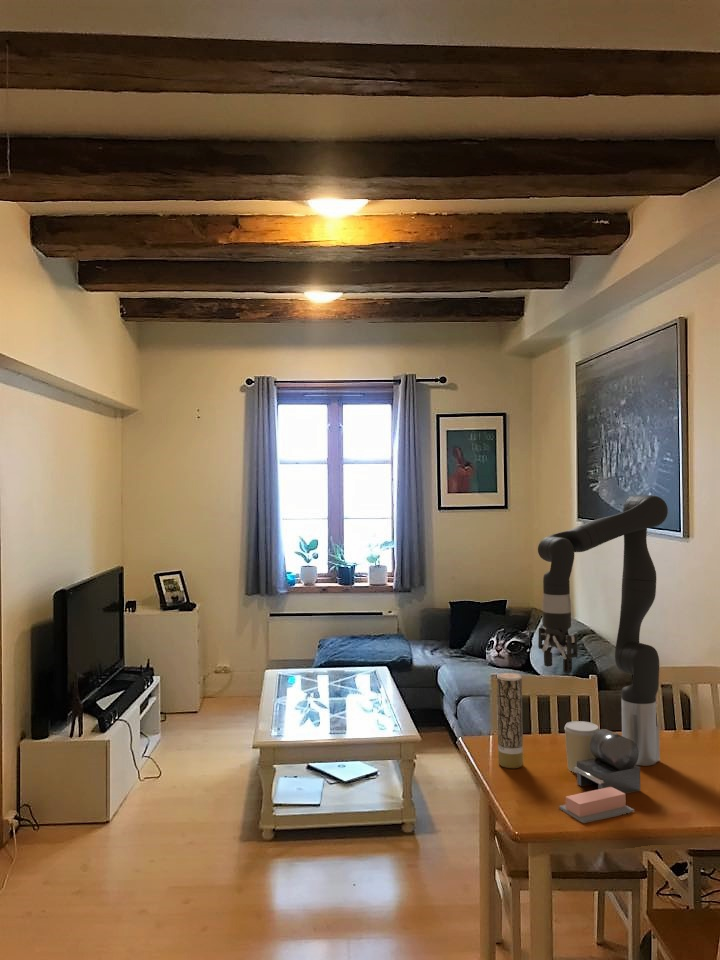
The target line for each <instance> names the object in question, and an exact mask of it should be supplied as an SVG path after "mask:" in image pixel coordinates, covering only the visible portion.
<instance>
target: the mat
mask: <svg viewBox="0 0 720 960" xmlns="http://www.w3.org/2000/svg"><path fill="white" fill-rule="evenodd" d="M558 809H559V810H561V811H562V810H563V812H564V813H566V814H567V815H568V816H570V817H572V818H574V819H575V820H577V821H578V822H580V823H582V824H587V823H590V822H596V821H600V820H605V819H609V818H613V817H618V816H622V814H623V815H627V814H626V813H628V814H631V813H630V812H633V811H634V812H635V809H634V808H631V807H630V806H628V805H626V806H624V807H620V808H616V809H612V810H608V811H603V812H599V813H595V814H591V815H586V816H582V817H579V816H577V815H575V814H573V813H572V812H570V811H568V810H567V809H566V804H563V805H559V806H558ZM634 812H633V813H634Z"/></svg>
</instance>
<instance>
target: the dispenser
mask: <svg viewBox="0 0 720 960" xmlns="http://www.w3.org/2000/svg"><path fill="white" fill-rule="evenodd" d="M590 750H591V753H592V755H593V756H594V757H595V758H593V759H587V760H582V761H577V767H574V771H575V772H577V773H576V779H577V780H576V783H577V784H578V786H579V785H580V786H579V787H585V786H591V785H595V784H597V790H598V789H602V788H607V787H613V788H615V789H617V790H619V791H621V792H623V793H625V794H626V795H627V794H630V793H635V792H641V766H640V765H636V763H637V760H638V757H639V750H638V747H637V745H636V743H635V742H634V741H632V740H630V739H628V738H625V737H623V736H622V734H618V733H615V732H614V731H612V730H609V729H605V728H601V729H599V730H598V731H597V732H596V733H595V734H594V735H593V737H592V739H591V742H590Z"/></svg>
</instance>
